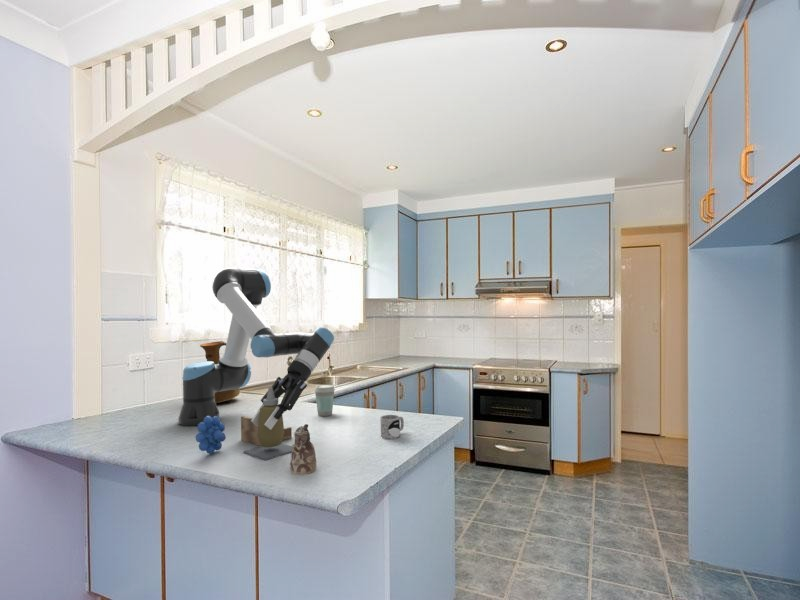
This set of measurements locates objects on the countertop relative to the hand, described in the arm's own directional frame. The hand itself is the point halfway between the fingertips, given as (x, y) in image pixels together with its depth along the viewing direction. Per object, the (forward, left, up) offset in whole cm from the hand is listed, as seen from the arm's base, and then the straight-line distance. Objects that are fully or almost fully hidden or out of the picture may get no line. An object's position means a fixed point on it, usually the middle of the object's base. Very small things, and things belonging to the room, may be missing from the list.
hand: (260, 425), depth 134 cm
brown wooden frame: (-13, +11, -9) cm, 19 cm away
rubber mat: (0, +4, -9) cm, 9 cm away
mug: (+20, +40, -9) cm, 45 cm away
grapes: (-12, -9, -9) cm, 18 cm away
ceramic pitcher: (-87, +33, -9) cm, 93 cm away
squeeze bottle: (0, +4, -7) cm, 8 cm away
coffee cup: (-23, +46, -9) cm, 52 cm away
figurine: (+21, 0, -9) cm, 23 cm away
